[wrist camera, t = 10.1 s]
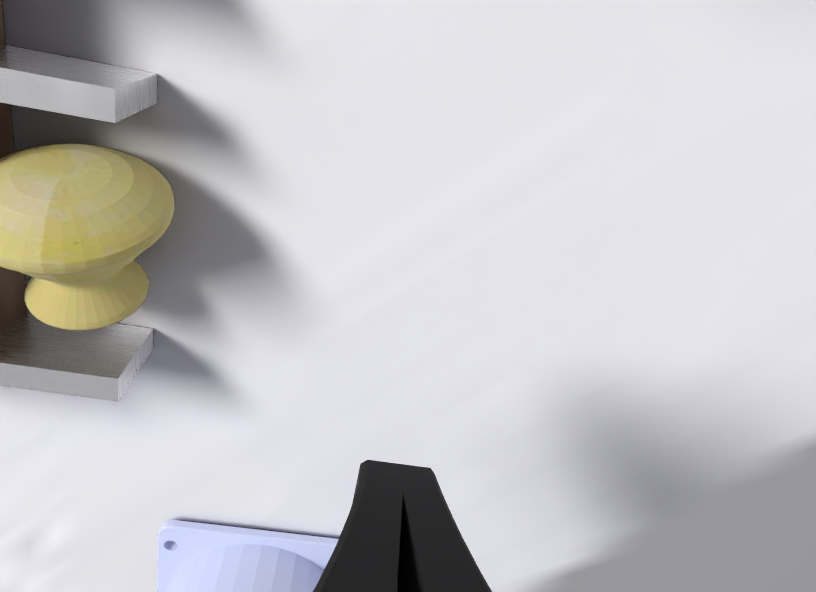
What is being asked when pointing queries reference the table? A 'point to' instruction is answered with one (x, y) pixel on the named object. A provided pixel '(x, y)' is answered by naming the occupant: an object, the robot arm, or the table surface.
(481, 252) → the table surface
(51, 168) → the knob
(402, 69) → the table surface
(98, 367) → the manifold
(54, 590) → the table surface
